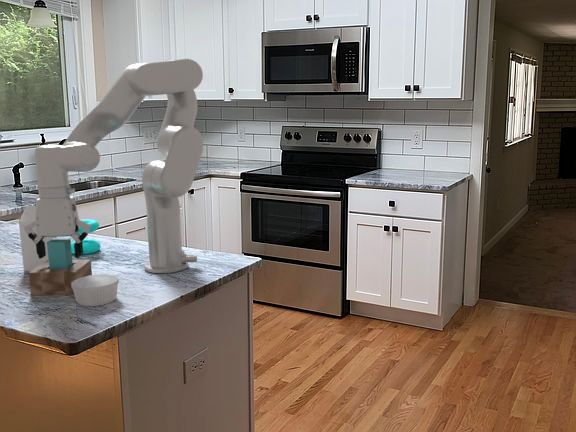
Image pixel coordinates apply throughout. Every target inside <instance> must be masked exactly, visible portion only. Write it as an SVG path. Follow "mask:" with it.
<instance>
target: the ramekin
mask: <svg viewBox="0 0 576 432" xmlns="http://www.w3.org/2000/svg"><path fill="white" fill-rule="evenodd" d="M119 282H120V281H119V278H118V276H117V275H114V274H105V273H103V274H92V275H90V276H85V277H82V278H79V279H76V280H74V281H73V282H72V283H71V287H72V289H73V291H74V295H73V296H74V298H75V302H76V303H77V304H78V305H80V306H83V307H99V305H100V306H105V305H108V304H110V302H111V303H112V302H114V301H115V300H116V298H117V296H118V288H119V287H118V285H119ZM104 304H105V305H104Z"/></svg>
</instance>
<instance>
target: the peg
mask: <svg viewBox="0 0 576 432" xmlns="http://www.w3.org/2000/svg"><path fill="white" fill-rule="evenodd" d="M71 239H72V237H65V238H64V237H63V238H61V237H57V238H53V239H52V240H50V241H48V242H47V249H48V259H49V269H69V268H70V267H71V266H72V265H73V262H72V260H73V253H72V250H71V243H72V240H71Z"/></svg>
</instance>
